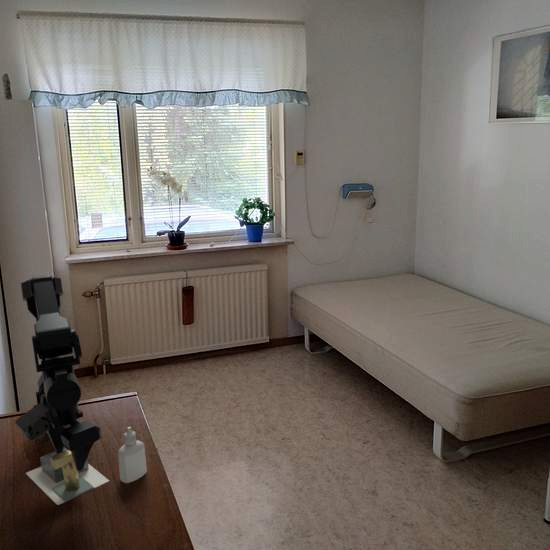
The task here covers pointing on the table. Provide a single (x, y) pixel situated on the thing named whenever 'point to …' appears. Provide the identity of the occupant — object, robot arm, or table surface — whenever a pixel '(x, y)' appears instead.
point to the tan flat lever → (67, 469)
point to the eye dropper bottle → (131, 458)
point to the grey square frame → (51, 471)
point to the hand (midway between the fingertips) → (69, 461)
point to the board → (47, 483)
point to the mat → (69, 495)
